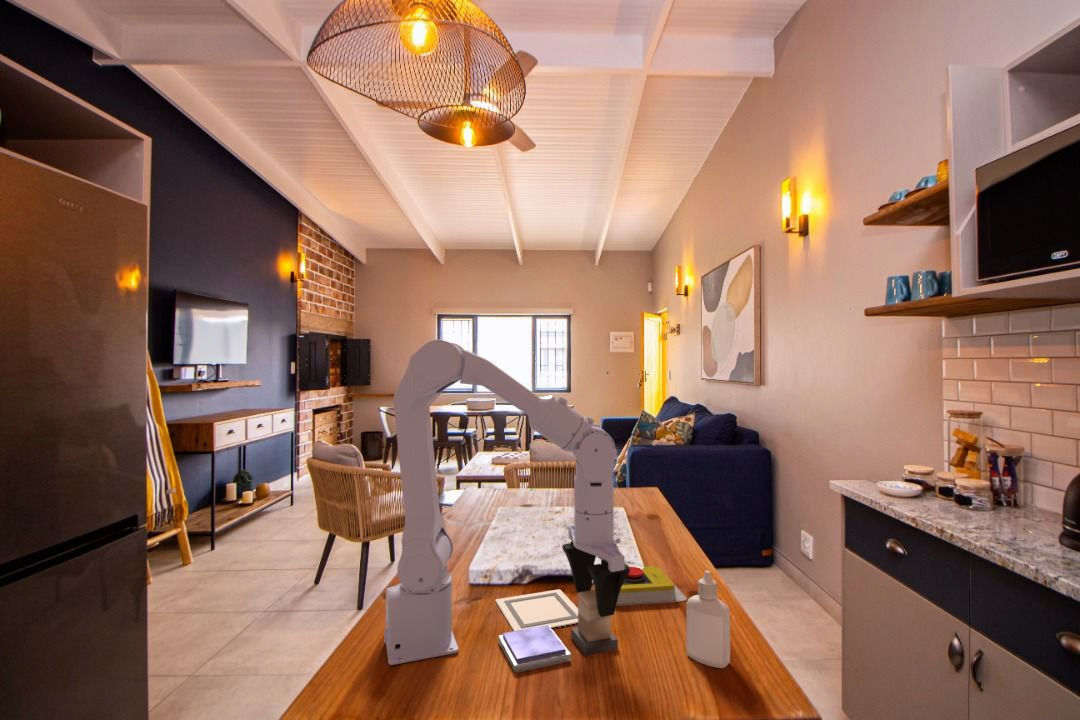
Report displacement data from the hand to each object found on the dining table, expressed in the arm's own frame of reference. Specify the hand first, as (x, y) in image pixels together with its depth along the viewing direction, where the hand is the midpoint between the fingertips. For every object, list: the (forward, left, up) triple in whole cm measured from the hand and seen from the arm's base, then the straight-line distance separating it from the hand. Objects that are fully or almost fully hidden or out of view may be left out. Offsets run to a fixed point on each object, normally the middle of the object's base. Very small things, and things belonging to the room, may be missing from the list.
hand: (594, 603), depth 75 cm
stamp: (0, 0, -6) cm, 6 cm away
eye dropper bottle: (+13, -9, -6) cm, 17 cm away
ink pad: (-9, +1, -6) cm, 11 cm away
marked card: (-4, +12, -6) cm, 14 cm away
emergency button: (+15, +13, -7) cm, 21 cm away
